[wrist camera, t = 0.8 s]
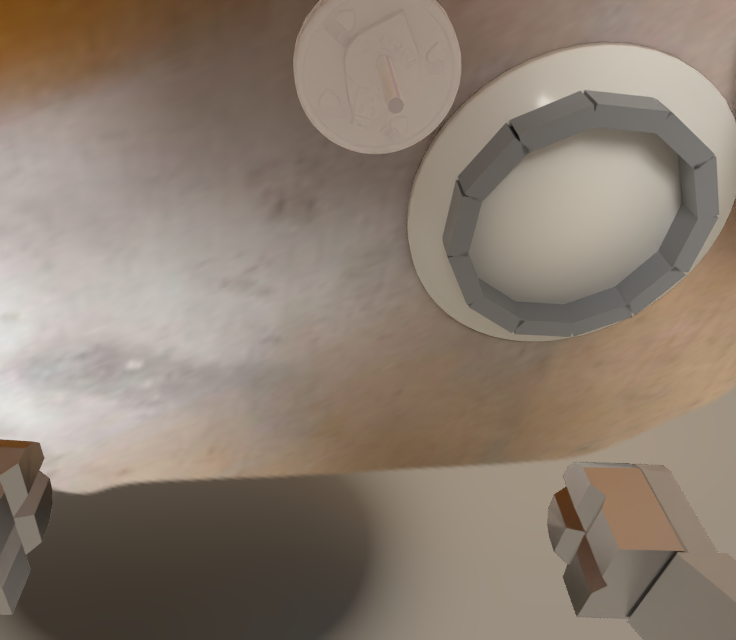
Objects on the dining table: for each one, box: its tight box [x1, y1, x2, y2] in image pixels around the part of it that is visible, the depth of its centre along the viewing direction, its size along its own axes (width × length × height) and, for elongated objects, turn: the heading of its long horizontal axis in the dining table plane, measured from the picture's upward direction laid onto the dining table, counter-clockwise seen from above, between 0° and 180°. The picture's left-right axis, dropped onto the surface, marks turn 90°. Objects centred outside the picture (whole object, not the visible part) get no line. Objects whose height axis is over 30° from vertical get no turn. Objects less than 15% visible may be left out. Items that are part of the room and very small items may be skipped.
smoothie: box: [293, 0, 462, 154], centre depth 25 cm, size 6×6×14 cm
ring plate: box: [407, 42, 736, 341], centre depth 37 cm, size 20×20×3 cm
